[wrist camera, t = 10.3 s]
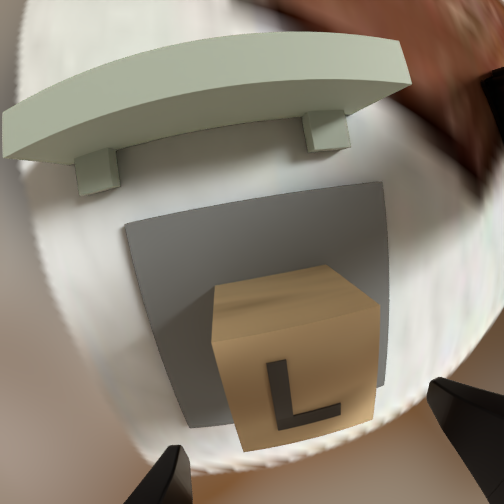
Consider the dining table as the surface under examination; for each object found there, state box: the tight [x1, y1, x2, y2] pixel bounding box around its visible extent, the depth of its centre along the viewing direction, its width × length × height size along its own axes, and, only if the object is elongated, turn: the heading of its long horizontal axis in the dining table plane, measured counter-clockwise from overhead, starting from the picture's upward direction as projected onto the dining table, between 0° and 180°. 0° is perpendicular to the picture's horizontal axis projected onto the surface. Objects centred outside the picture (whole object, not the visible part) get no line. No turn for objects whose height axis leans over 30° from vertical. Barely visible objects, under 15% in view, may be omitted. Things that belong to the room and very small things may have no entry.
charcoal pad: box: [125, 182, 389, 428], centre depth 16 cm, size 14×14×1 cm
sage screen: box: [2, 32, 412, 196], centre depth 11 cm, size 6×16×6 cm, turn 99°
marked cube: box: [211, 265, 380, 452], centre depth 13 cm, size 6×6×6 cm
